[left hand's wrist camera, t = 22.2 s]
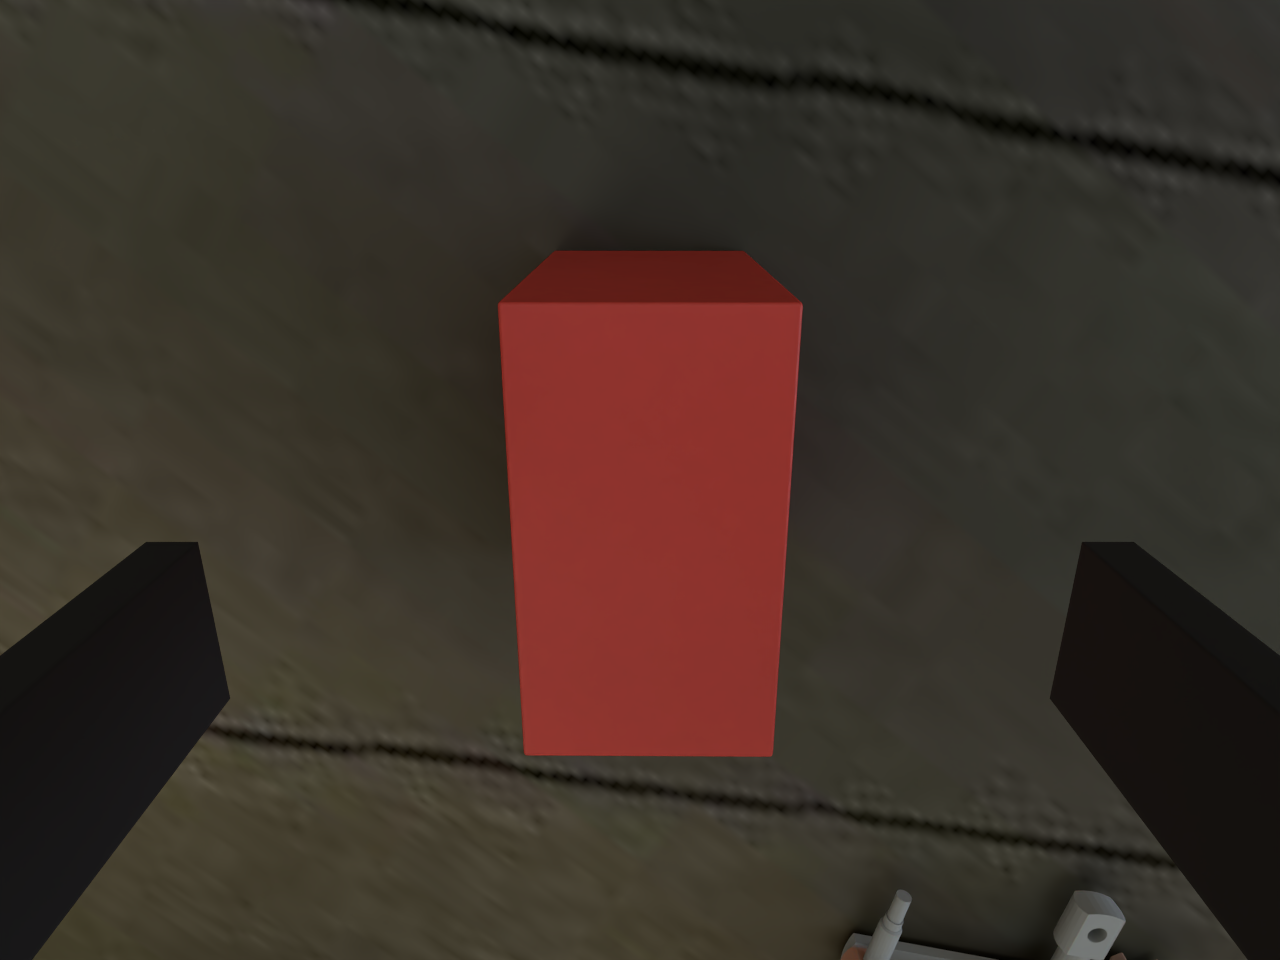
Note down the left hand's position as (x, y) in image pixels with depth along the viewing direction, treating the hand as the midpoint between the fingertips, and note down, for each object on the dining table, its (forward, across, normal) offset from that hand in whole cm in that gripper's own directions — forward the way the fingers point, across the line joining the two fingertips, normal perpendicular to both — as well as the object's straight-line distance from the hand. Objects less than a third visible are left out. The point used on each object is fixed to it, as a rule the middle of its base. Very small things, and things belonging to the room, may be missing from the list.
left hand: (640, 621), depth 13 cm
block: (+12, 0, 0) cm, 12 cm away
